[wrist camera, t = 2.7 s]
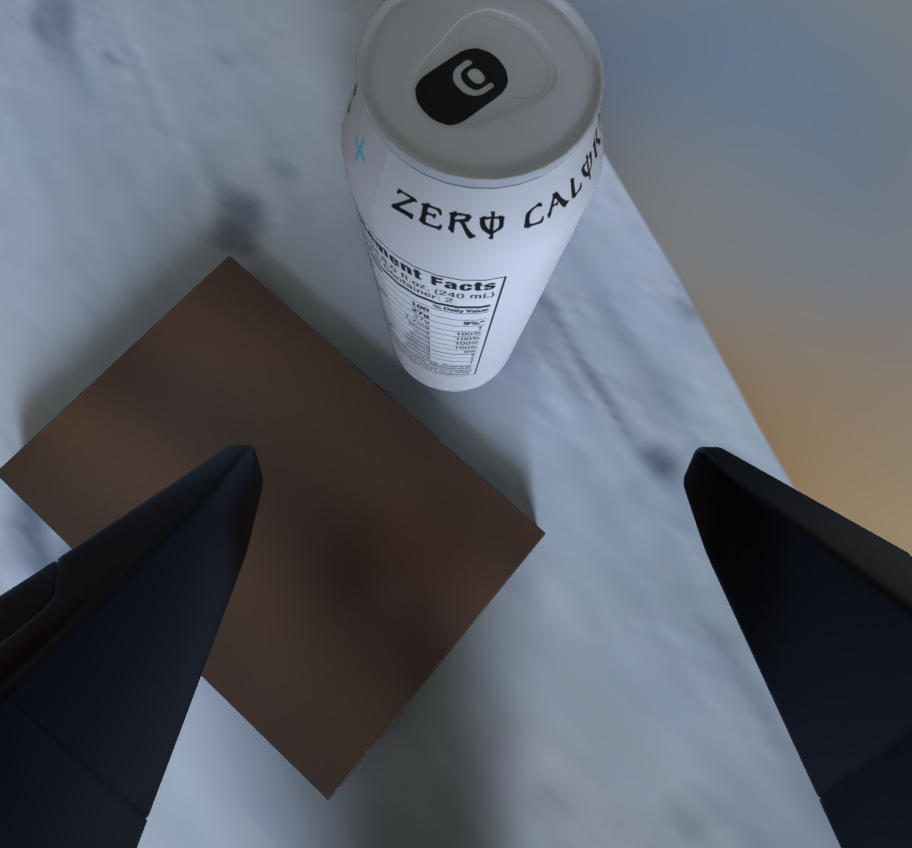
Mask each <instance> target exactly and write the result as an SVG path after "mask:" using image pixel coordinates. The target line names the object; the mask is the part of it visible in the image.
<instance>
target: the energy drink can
mask: <svg viewBox="0 0 912 848" xmlns="http://www.w3.org/2000/svg"><path fill="white" fill-rule="evenodd" d="M603 90H604V71H603V61H602V58H601V54H600V51H599V48H598V44H597V42H596V39H595V38H594V36H593V34H592V32H591V30H590V29H589V27H588V25H587V23H586V22H585V20H584V19H583V18H582V17H581V16H580V14H579V13H578V12H577V11H576V10H575V8H574V7H573V6H572V5H571V4H570V3H568V2H567V1H566V0H384V1H383V3H382V4H381V5H380V6H379V7H378V8H377V10H376V11H375V12H374V13H373V14H372V16H371V18H370V20H369V22H368V24H367V25H366V27H365V29H364V31H363V33H362V36H361V39H360V43H359V47H358V51H357V55H356V84H355V86H354V88H353V90H352V92H351V94H350V96H349V99H348V103H347V107H346V111H345V114H344V118H343V122H342V151H343V156H344V161H345V167H346V171H347V175H348V179H349V182H350V186H351V190H352V193H353V197H354V201H355V205H356V208H357V212H358V216H359V220H360V223H361V227H362V231H363V235H364V238H365V242H366V246H367V250H368V253H369V257H370V261H371V265H372V268H373V272H374V276H375V279H376V283H377V287H378V291H379V294H380V298H381V302H382V306H383V309H384V313H385V317H386V321H387V324H388V328H389V332H390V336H391V339H392V343H393V347H394V350H395V352H396V355H397V357H398V359H399V361H400V362H401V364H402V365H403V367H404V368H405V370H406V371H407V372H408V373H409V374H410V375H411V376H413V377H414V378H415V379H416V380H418V381H419V382H421V383H423V384H424V385H426V386H429V387H432V388H434V389H437V390H443V391H465V390H470V389H473V388H476V387H478V386H481V385H483V384H485V383H486V382H488V381H489V380H491V379H492V378H493V377H494V376H495V375H496V374H497V373H498V372H499V371H500V370H501V369H502V368H503V366H504V365H505V363H506V362H507V360H508V358H509V356H510V354H511V352H512V350H513V349H514V347H515V345H516V343H517V341H518V339H519V337H520V335H521V333H522V331H523V329H524V327H525V325H526V323H527V321H528V319H529V317H530V316H531V314H532V312H533V310H534V308H535V306H536V304H537V302H538V300H539V298H540V296H541V294H542V292H543V290H544V288H545V286H546V284H547V283H548V281H549V279H550V277H551V275H552V273H553V271H554V269H555V267H556V265H557V263H558V261H559V259H560V257H561V255H562V253H563V251H564V250H565V248H566V246H567V244H568V242H569V240H570V238H571V236H572V234H573V232H574V230H575V228H576V226H577V224H578V222H579V220H580V219H581V217H582V215H583V213H584V211H585V209H586V207H587V205H588V203H589V201H590V199H591V197H592V195H593V193H594V190H595V187H596V185H597V182H598V179H599V177H600V174H601V167H602V160H603V154H604V148H603V135H602V124H601V120H600V115H599V109H600V107H601V104H602V97H603Z"/></svg>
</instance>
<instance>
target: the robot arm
mask: <svg viewBox="0 0 912 848" xmlns="http://www.w3.org/2000/svg"><path fill="white" fill-rule="evenodd" d="M262 488H263V475H262V472H261V468H260V465H259V461H258V458H257V454H256V451H255V449H254V447H253V446H251V445H230V446H228V447H226V448H225V449H223V450H222V451H220V452H219V453H217V454H216V455H214V456H213V457H211V458H210V459H208V460H207V461H205V462H204V463H202V464H201V465H199V466H198V467H196V468H195V469H193V470H192V471H190V472H188V473H187V474H185V475H184V476H182V477H181V478H179V479H178V480H176V481H175V482H173V483H172V484H170V485H169V486H167V487H166V488H164V489H163V490H161V491H160V492H158V493H157V494H155V495H154V496H152V497H151V498H149V499H148V500H146V501H145V502H143V503H142V504H140V505H138V506H137V507H135V508H134V509H132V510H131V511H129V512H128V513H126V514H125V515H123V516H122V517H120V518H119V519H117V520H116V521H114V522H113V523H111V524H110V525H108V526H107V527H105V528H104V529H102V530H101V531H99V532H97V533H96V534H94V535H93V536H91V537H90V538H88V539H87V540H85V541H84V542H82V543H81V544H79V545H78V546H76V547H75V548H73V549H72V550H70V551H69V552H67V553H66V554H64V555H63V556H61V557H60V558H58V561H57V562H52V563H50V564H49V565H47V566H46V567H44V568H43V569H41V570H40V571H38V572H37V573H35V574H34V575H32V576H31V577H29V578H28V579H26V580H24V581H23V582H21V583H20V584H18V585H17V586H15V587H13V588H12V589H10V590H9V591H7V592H6V593H4V594H2V595H1V596H0V848H137V846H138V843H139V841H140V838H141V835H142V833H143V830H144V827H145V825H146V822H147V820H146V818H147V817H148V815H149V813H150V810H151V808H152V805H153V802H154V800H155V797H156V794H157V792H158V789H159V786H160V784H161V781H162V778H163V776H164V773H165V770H166V768H167V765H168V762H169V760H170V757H171V754H172V752H173V749H174V746H175V744H176V741H177V738H178V736H179V733H180V730H181V728H182V725H183V722H184V720H185V717H186V714H187V712H188V709H189V706H190V704H191V701H192V698H193V696H194V693H195V690H196V688H197V685H198V682H199V679H200V677H201V674H202V671H203V669H204V666H205V663H206V661H207V658H208V655H209V653H210V650H211V647H212V645H213V642H214V639H215V637H216V634H217V631H218V629H219V626H220V623H221V621H222V618H223V615H224V613H225V610H226V607H227V605H228V602H229V599H230V597H231V594H232V591H233V589H234V586H235V583H236V581H237V578H238V575H239V573H240V570H241V567H242V565H243V562H244V559H245V556H246V553H247V549H248V545H249V541H250V537H251V533H252V529H253V525H254V521H255V517H256V513H257V508H258V504H259V500H260V496H261V492H262ZM684 489H685V492H686V495H687V498H688V501H689V504H690V507H691V510H692V513H693V516H694V519H695V522H696V525H697V528H698V531H699V534H700V537H701V540H702V543H703V546H704V548H705V551H706V553H707V556H708V558H709V560H710V563H711V565H712V567H713V569H714V571H715V574H716V576H717V578H718V580H719V582H720V585H721V587H722V589H723V591H724V593H725V595H726V598H727V600H728V602H729V604H730V606H731V608H732V611H733V613H734V615H735V617H736V619H737V622H738V624H739V626H740V628H741V630H742V632H743V635H744V637H745V639H746V641H747V643H748V645H749V648H750V650H751V652H752V654H753V656H754V659H755V661H756V663H757V665H758V667H759V669H760V672H761V674H762V676H763V678H764V680H765V682H766V685H767V687H768V689H769V691H770V693H771V696H772V698H773V700H774V702H775V704H776V706H777V709H778V711H779V713H780V715H781V717H782V719H783V722H784V724H785V726H786V728H787V730H788V733H789V735H790V737H791V739H792V741H793V743H794V746H795V748H796V750H797V752H798V754H799V756H800V759H801V761H802V763H803V765H804V767H805V770H806V772H807V774H808V776H809V778H810V780H811V783H812V785H813V787H814V789H815V791H816V793H817V795H818V797H820V803H821V805H822V807H823V809H824V812H825V814H826V816H827V818H828V820H829V823H830V825H831V827H832V829H833V831H834V833H835V836H836V838H837V840H838V842H839V844H840V846H841V848H912V556H910V554H909V553H907V552H906V551H904V550H902V549H900V548H898V547H897V546H895V545H893V544H891V543H889V542H888V541H886V540H884V539H882V538H881V537H879V536H877V535H875V534H873V533H872V532H870V531H868V530H866V529H865V528H863V527H861V526H859V525H857V524H856V523H854V522H852V521H850V520H848V519H847V518H845V517H843V516H841V515H840V514H838V513H836V512H834V511H833V510H831V509H829V508H827V507H825V506H824V505H822V504H820V503H818V502H816V501H815V500H813V499H811V498H809V497H808V496H806V495H804V494H802V493H801V492H798V491H797V490H795V489H793V488H792V487H790V486H788V485H786V484H785V483H783V482H781V481H779V480H777V479H776V478H774V477H772V476H770V475H768V474H767V473H765V472H763V471H761V470H760V469H758V468H756V467H754V466H752V465H751V464H749V463H747V462H745V461H744V460H742V459H740V458H738V457H736V456H735V455H733V454H731V453H729V452H728V451H726V450H724V449H722V448H720V447H700V448H698V449H697V450H696V451H695V453H694V455H693V457H692V459H691V462H690V464H689V466H688V469H687V471H686V473H685V476H684Z"/></svg>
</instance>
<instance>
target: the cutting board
mask: <svg viewBox="0 0 912 848" xmlns="http://www.w3.org/2000/svg"><path fill="white" fill-rule="evenodd" d="M230 445H251V446H253V447H254V449H255V451H256V454H257V458H258V461H259V465H260V468H261V472H262V475H263V488H262V492H261V496H260V500H259V504H258V508H257V513H256V517H255V521H254V525H253V529H252V533H251V537H250V541H249V545H248V549H247V553H246V556H245V559H244V562H243V565H242V567H241V570H240V573H239V575H238V578H237V581H236V583H235V586H234V589H233V591H232V594H231V597H230V599H229V602H228V605H227V607H226V610H225V613H224V615H223V618H222V621H221V623H220V626H219V629H218V631H217V634H216V637H215V639H214V642H213V645H212V647H211V650H210V653H209V655H208V658H207V661H206V663H205V666H204V669H203V671H202V674H201V676H202V677H203V678H204V679H205V680H206V681H207V682H208V683H209V684H210V685H211V686H212V687H213V688H214V689H216V690H217V691H218V692H219V693H220V694H221V695H222V696H223V697H224V698H225V699H226V700H227V701H228V702H229V703H230V704H231V705H232V706H233V707H234V708H235V709H236V710H237V711H238V712H239V713H240V714H241V715H242V716H243V717H244V718H245V719H246V720H247V721H248V722H249V723H250V724H251V725H252V726H253V727H254V728H255V729H256V730H257V731H258V732H259V733H260V734H261V735H262V736H263V737H264V738H265V739H266V740H267V741H268V742H269V743H270V744H271V745H273V746H274V747H275V748H276V749H277V750H278V751H279V752H280V753H281V754H282V755H283V756H284V757H285V758H286V759H287V760H288V761H289V762H290V763H291V764H292V765H293V766H294V767H295V768H296V769H297V770H298V771H299V772H300V773H301V774H302V775H303V776H304V777H305V778H306V779H307V780H308V781H309V782H310V783H311V784H312V785H313V786H314V787H315V788H316V789H317V790H318V791H319V792H320V793H321V794H322V795H323V796H324V797H325V798H326V799H327V800H329V799H330V798H331V797H332V796H333V795H334V793H335V792H336V791H337V790H338V788H339V787H340V786H341V785H342V783H343V782H344V781H345V780H346V779H347V777H348V776H349V775H350V774H351V772H352V771H353V770H354V769H355V767H356V766H357V765H358V764H359V763H360V761H361V760H362V759H363V758H364V756H365V755H366V754H367V753H368V751H369V750H370V749H371V748H372V747H373V745H374V744H375V743H376V742H377V740H378V739H379V738H380V737H381V735H382V734H383V733H384V732H385V731H386V729H387V728H388V727H389V726H390V724H391V723H392V722H393V721H394V719H395V718H396V717H397V716H398V715H399V713H400V712H401V711H402V710H403V708H404V707H405V706H406V705H407V703H408V702H409V701H410V700H411V699H412V697H413V696H414V695H415V694H416V692H417V691H418V690H419V689H420V687H421V686H422V685H423V684H424V683H425V681H426V680H427V679H428V678H429V676H430V675H431V674H432V673H433V671H434V670H435V669H436V668H437V667H438V665H439V664H440V663H441V662H442V660H443V659H444V658H445V657H446V655H447V654H448V653H449V652H450V651H451V649H452V648H453V647H454V646H455V644H456V643H457V642H458V641H459V639H460V638H461V637H462V636H463V635H464V633H465V632H466V631H467V630H468V628H469V627H470V626H471V625H472V623H473V622H474V621H475V620H476V619H477V617H478V616H479V615H480V614H481V612H482V611H483V610H484V609H485V607H486V606H487V605H488V604H489V603H490V601H491V600H492V599H493V598H494V596H495V595H496V594H497V593H498V591H499V590H500V589H501V588H502V587H503V585H504V584H505V583H506V582H507V580H508V579H509V578H510V577H511V575H512V574H513V573H514V572H515V571H516V569H517V568H518V567H519V566H520V564H521V563H522V562H523V561H524V559H525V558H526V557H527V556H528V555H529V553H530V552H531V551H532V550H533V548H534V547H535V546H536V545H537V543H538V542H539V541H540V540H541V539H542V537H543V536H544V535H545V532H544V531H542V530H541V529H540V528H539V527H538V526H537V525H536V524H534V523H533V522H532V521H531V520H530V519H529V518H528V517H526V516H525V515H524V514H523V513H522V512H521V511H520V510H518V509H517V508H516V507H515V506H514V505H513V504H512V503H511V502H509V501H508V500H507V499H506V498H505V497H504V496H503V495H501V494H500V493H499V492H498V491H497V490H496V489H495V488H493V487H492V486H491V485H490V484H489V483H488V482H487V481H485V480H484V479H483V478H482V477H481V476H480V475H479V474H478V473H476V472H475V471H474V470H473V469H472V468H471V467H470V466H468V465H467V464H466V463H465V462H464V461H463V460H462V459H460V458H459V457H458V456H457V455H456V454H455V453H454V452H452V451H451V450H450V449H449V448H448V447H447V446H446V445H444V444H443V443H442V442H441V441H440V440H439V439H438V438H437V437H435V436H434V435H433V434H432V433H431V432H430V431H429V430H427V429H426V428H425V427H424V426H423V425H422V424H421V423H419V422H418V421H417V420H416V419H415V418H414V417H413V416H411V415H410V414H409V413H408V412H407V411H406V410H405V409H404V408H402V407H401V406H400V405H399V404H398V403H397V402H396V401H394V400H393V399H392V398H391V397H390V396H389V395H388V394H386V393H385V392H384V391H383V390H382V389H381V388H380V387H378V386H377V385H376V384H375V383H374V382H373V381H372V380H371V379H369V378H368V377H367V376H366V375H365V374H364V373H363V372H361V371H360V370H359V369H358V368H357V367H356V366H355V365H353V364H352V363H351V362H350V361H349V360H348V359H347V358H345V357H344V356H343V355H342V354H341V353H340V352H339V351H338V350H336V349H335V348H334V347H333V346H332V345H331V344H330V343H328V342H327V341H326V340H325V339H324V338H323V337H322V336H320V335H319V334H318V333H317V332H316V331H315V330H314V329H312V328H311V327H310V326H309V325H308V324H307V323H306V322H304V321H303V320H302V319H301V318H300V317H299V316H298V315H297V314H295V313H294V312H293V311H292V310H291V309H290V308H289V307H287V306H286V305H285V304H284V303H283V302H282V301H281V300H279V299H278V298H277V297H276V296H275V295H274V294H273V293H271V292H270V291H269V290H268V289H267V288H266V287H265V286H264V285H262V284H261V283H260V282H259V281H258V280H257V279H256V278H254V277H253V276H252V275H251V274H250V273H249V272H248V271H246V270H245V269H244V268H243V267H242V266H241V265H240V264H238V263H237V262H236V261H235V260H234V259H233V258H232V257H230V256H229V257H227V258H226V259H225V260H224V261H223V262H222V263H221V264H220V265H219V266H218V267H217V268H216V269H215V270H213V271H212V272H211V273H210V274H209V275H208V276H207V277H206V278H205V279H204V280H203V281H202V282H201V283H199V284H198V285H197V286H196V287H195V288H194V289H193V290H192V291H191V292H190V293H189V294H188V295H187V296H185V297H184V298H183V299H182V300H181V301H180V302H179V303H178V304H177V305H176V306H175V307H174V308H173V309H171V310H170V311H169V312H168V313H167V314H166V315H165V316H164V317H163V318H162V319H161V320H160V321H159V322H157V323H156V324H155V325H154V326H153V327H152V328H151V329H150V330H149V331H148V332H147V333H146V334H145V335H143V336H142V337H141V338H140V339H139V340H138V341H137V342H136V343H135V344H134V345H133V346H132V347H131V348H129V349H128V350H127V351H126V352H125V353H124V354H123V355H122V356H121V357H120V358H119V359H118V360H117V361H115V362H114V363H113V364H112V365H111V366H110V367H109V368H108V369H107V370H106V371H105V372H104V373H103V374H102V375H100V376H99V377H98V378H97V379H96V380H95V381H94V382H93V383H92V384H91V385H90V386H89V387H88V388H86V389H85V390H84V391H83V392H82V393H81V394H80V395H79V396H78V397H77V398H76V399H75V400H74V401H72V402H71V403H70V404H69V405H68V406H67V407H66V408H65V409H64V410H63V411H62V412H61V413H60V414H58V415H57V416H56V417H55V418H54V419H53V420H52V421H51V422H50V423H49V424H48V425H47V426H46V427H44V428H43V429H42V430H41V431H40V432H39V433H38V434H37V435H36V436H35V437H34V438H33V439H32V440H30V441H29V442H28V443H27V444H26V445H25V446H24V447H23V448H22V449H21V450H20V451H19V452H18V453H16V454H15V455H14V456H13V457H12V458H11V459H10V460H9V461H8V462H7V463H6V464H5V465H4V466H2V467H1V468H0V478H1V479H2V480H3V481H4V482H5V483H6V484H7V485H8V486H9V487H10V488H11V489H12V490H13V491H14V492H15V493H16V494H17V495H18V496H19V497H20V498H21V499H22V500H23V501H24V502H25V503H26V504H27V505H28V506H29V507H30V508H31V509H32V510H33V511H34V512H35V513H36V514H37V515H38V516H39V517H40V518H41V519H42V520H43V521H45V522H46V523H47V524H48V525H49V526H50V527H51V528H52V529H53V530H54V531H55V532H56V533H57V534H58V535H59V536H60V537H61V538H62V539H63V540H64V541H65V542H66V543H67V544H68V545H69V546H70V547H71V548H72V549H73V548H75V547H76V546H78V545H79V544H81V543H82V542H84V541H85V540H87V539H88V538H90V537H91V536H93V535H94V534H96V533H97V532H99V531H101V530H102V529H104V528H105V527H107V526H108V525H110V524H111V523H113V522H114V521H116V520H117V519H119V518H120V517H122V516H123V515H125V514H126V513H128V512H129V511H131V510H132V509H134V508H135V507H137V506H138V505H140V504H142V503H143V502H145V501H146V500H148V499H149V498H151V497H152V496H154V495H155V494H157V493H158V492H160V491H161V490H163V489H164V488H166V487H167V486H169V485H170V484H172V483H173V482H175V481H176V480H178V479H179V478H181V477H182V476H184V475H185V474H187V473H188V472H190V471H192V470H193V469H195V468H196V467H198V466H199V465H201V464H202V463H204V462H205V461H207V460H208V459H210V458H211V457H213V456H214V455H216V454H217V453H219V452H220V451H222V450H223V449H225V448H226V447H228V446H230Z"/></svg>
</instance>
